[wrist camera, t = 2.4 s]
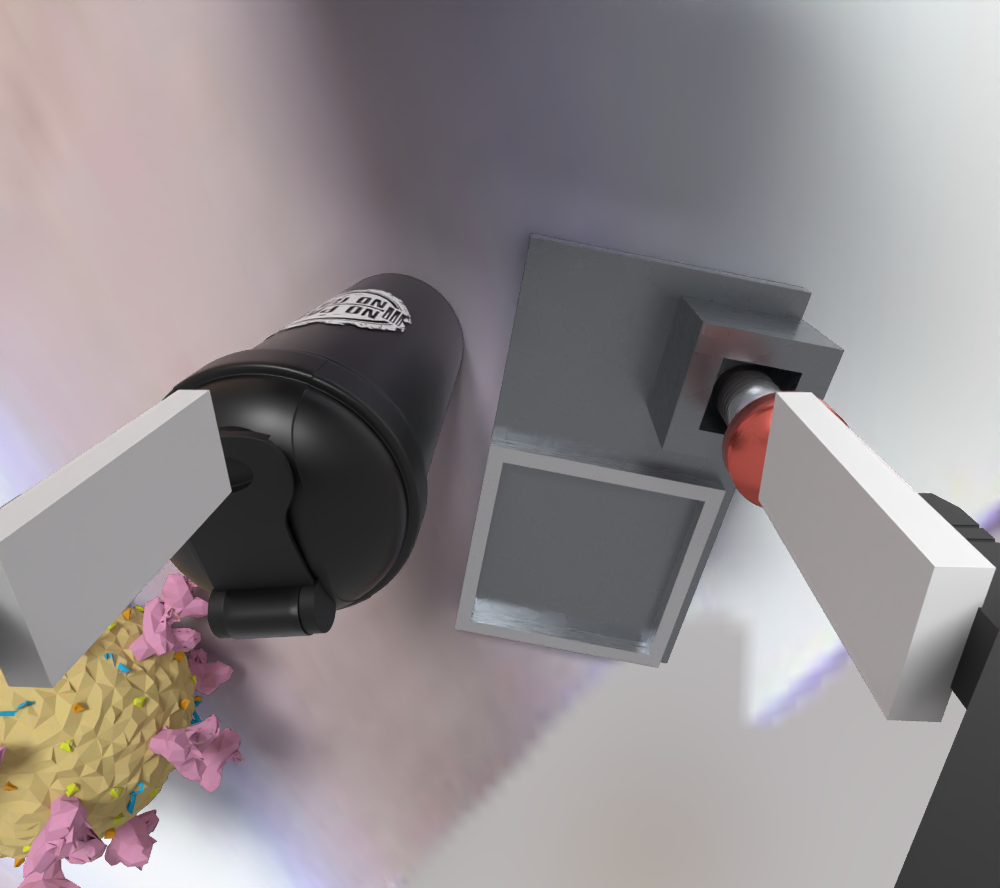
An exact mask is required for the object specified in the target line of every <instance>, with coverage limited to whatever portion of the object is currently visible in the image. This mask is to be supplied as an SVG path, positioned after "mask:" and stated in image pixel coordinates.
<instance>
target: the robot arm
mask: <svg viewBox="0 0 1000 888" xmlns="http://www.w3.org/2000/svg"><path fill="white" fill-rule="evenodd" d="M231 492H232V490H231V486H230V481H229V477H228V472H227V468H226V463H225V458H224V454H223V449H222V445H221V440H220V436H219V431H218V427H217V422H216V417H215V413H214V408H213V404H212V399H211V395H210V390H177V391H176V392H174V393H173V394H171V395H170V396H168V397H167V398H165V399H164V400H162V401H161V402H159V403H158V404H156V405H155V406H153V407H152V408H150V409H149V410H147V411H146V412H144V413H143V414H141V415H140V416H138V417H137V418H135V419H134V420H132V421H131V422H129V423H128V424H126V425H125V426H123V427H122V428H120V429H119V430H117V431H116V432H114V433H113V434H111V435H110V436H108V437H107V438H105V439H104V440H102V441H101V442H99V443H98V444H96V445H95V446H93V447H92V448H90V449H89V450H87V451H86V452H84V453H83V454H81V455H80V456H78V457H77V458H75V459H74V460H72V461H71V462H69V463H68V464H66V465H65V466H63V467H62V468H60V469H59V470H57V471H56V472H54V473H53V474H51V475H50V476H48V477H47V478H45V479H44V480H42V481H41V482H39V483H38V484H36V485H35V486H33V487H32V488H30V489H29V490H27V491H26V492H24V493H23V494H21V495H19V496H17V497H16V498H14V499H13V500H11V501H10V502H8V503H7V504H5V505H4V506H2V507H1V508H0V668H1V671H2V673H3V675H4V677H5V680H6V682H7V684H8V686H11V687H37V688H53V687H54V686H55V685H56V684H57V683H58V682H59V681H60V680H61V678H62V677H63V676H64V675H65V674H66V673H67V672H68V671H69V670H70V669H71V667H72V666H73V665H74V664H75V663H76V662H77V661H78V660H79V659H80V658H81V657H82V655H83V654H84V653H85V652H86V651H87V650H88V649H89V648H90V647H91V646H92V644H93V643H94V642H95V641H96V640H97V639H98V638H99V637H100V636H101V635H102V633H103V632H104V631H105V630H106V629H107V628H108V627H109V626H110V625H111V624H112V623H113V621H114V620H115V619H116V618H117V617H118V616H119V615H120V614H121V613H122V612H123V610H124V609H125V608H126V607H127V606H128V605H129V604H130V603H131V602H132V601H133V599H134V598H135V597H136V596H137V595H138V594H139V593H140V592H141V591H142V590H143V588H144V587H145V586H146V585H147V584H148V583H149V582H150V581H151V580H152V579H153V578H154V576H155V575H156V574H157V573H158V572H159V571H160V570H161V569H162V568H163V567H164V565H165V564H166V563H167V562H168V561H169V560H170V559H171V558H172V557H173V556H174V554H175V553H176V552H177V551H178V550H179V549H180V548H181V547H182V546H183V545H184V543H185V542H186V541H187V540H188V539H189V538H190V537H191V536H192V535H193V534H194V533H195V531H196V530H197V529H198V528H199V527H200V526H201V525H202V524H203V523H204V522H205V520H206V519H207V518H208V517H209V516H210V515H211V514H212V513H213V512H214V511H215V509H216V508H217V507H218V506H219V505H220V504H221V503H222V502H223V501H224V500H225V499H226V497H227V496H228V495H229V494H230V493H231ZM758 500H759V502H760V504H761V505H762V507H763V509H764V510H765V512H766V514H767V516H768V517H769V519H770V521H771V522H772V524H773V526H774V527H775V529H776V531H777V533H778V534H779V536H780V538H781V539H782V541H783V543H784V545H785V546H786V548H787V550H788V551H789V553H790V555H791V556H792V558H793V560H794V562H795V563H796V565H797V567H798V568H799V570H800V572H801V574H802V575H803V577H804V579H805V580H806V582H807V584H808V586H809V587H810V589H811V591H812V592H813V594H814V596H815V597H816V599H817V601H818V603H819V604H820V606H821V608H822V609H823V611H824V613H825V615H826V616H827V618H828V620H829V621H830V623H831V625H832V626H833V628H834V630H835V632H836V633H837V635H838V637H839V638H840V640H841V642H842V644H843V645H844V647H845V649H846V650H847V652H848V654H849V655H850V657H851V659H852V661H853V662H854V664H855V666H856V667H857V669H858V671H859V673H860V674H861V676H862V678H863V679H864V681H865V683H866V684H867V686H868V688H869V689H870V691H871V693H872V695H873V696H874V698H875V700H876V702H877V703H878V705H879V706H880V708H881V710H882V712H883V713H884V715H885V717H886V719H887V720H902V721H928V722H941V720H942V718H943V715H944V712H945V709H946V706H947V704H948V701H949V698H950V695H951V692H952V690H953V692H954V693H955V694H956V696H957V697H958V698H959V700H960V701H961V703H962V704H963V705H964V707H965V708H966V709H967V711H966V713H965V715H964V718H963V720H962V723H961V725H960V728H959V730H958V732H957V735H956V737H955V740H954V742H953V745H952V747H951V750H950V752H949V754H948V757H947V759H946V762H945V764H944V767H943V769H942V772H941V774H940V776H939V779H938V781H937V784H936V786H935V789H934V791H933V794H932V796H931V799H930V801H929V804H928V806H927V808H926V811H925V813H924V816H923V818H922V821H921V823H920V825H919V828H918V830H917V833H916V835H915V838H914V840H913V843H912V845H911V848H910V850H909V853H908V855H907V857H906V860H905V862H904V865H903V867H902V870H901V872H900V874H899V877H898V880H897V882H896V884H895V887H894V888H1000V543H995V539H994V538H993V537H992V536H991V535H990V534H989V533H988V532H986V531H985V530H984V529H983V528H979V524H977V523H976V522H975V521H974V520H973V519H972V518H971V517H970V516H968V515H967V514H966V513H965V512H964V511H963V510H962V509H961V508H959V507H957V506H955V505H953V504H951V503H949V502H947V501H945V500H944V499H942V498H940V497H938V496H936V495H934V494H932V493H917V492H916V491H915V490H914V489H913V488H911V487H910V486H909V485H908V484H907V483H906V482H905V481H904V480H903V479H902V478H901V477H900V476H899V475H898V474H897V473H896V472H895V471H894V470H893V469H891V468H890V467H889V466H888V465H887V464H886V463H885V462H884V461H883V460H882V459H881V458H880V457H879V456H878V455H877V454H876V453H875V452H874V451H873V450H871V449H870V448H869V447H868V446H867V445H866V444H865V443H864V442H863V441H862V440H861V439H860V438H859V437H858V436H857V435H856V434H855V433H854V432H853V431H852V430H850V429H849V428H848V427H847V426H846V425H845V424H844V423H843V422H842V421H841V420H840V419H839V418H838V417H837V416H836V415H835V414H834V413H833V412H832V411H830V410H829V409H828V408H827V407H826V406H825V405H824V404H823V403H822V402H821V401H820V400H819V399H818V398H817V397H816V396H815V395H814V394H813V393H812V392H776V395H775V401H774V407H773V413H772V419H771V425H770V431H769V437H768V443H767V450H766V456H765V462H764V468H763V474H762V480H761V486H760V492H759V498H758Z"/></svg>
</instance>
